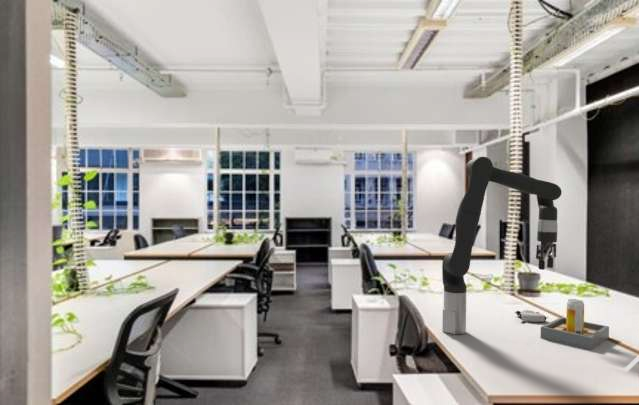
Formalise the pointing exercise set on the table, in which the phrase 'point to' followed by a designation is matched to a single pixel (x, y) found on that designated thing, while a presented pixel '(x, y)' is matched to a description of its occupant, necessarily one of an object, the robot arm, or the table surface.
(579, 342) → the open-top box
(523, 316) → the robot toy
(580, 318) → the beer can
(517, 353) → the table surface
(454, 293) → the robot arm
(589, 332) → the plate
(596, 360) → the table surface
